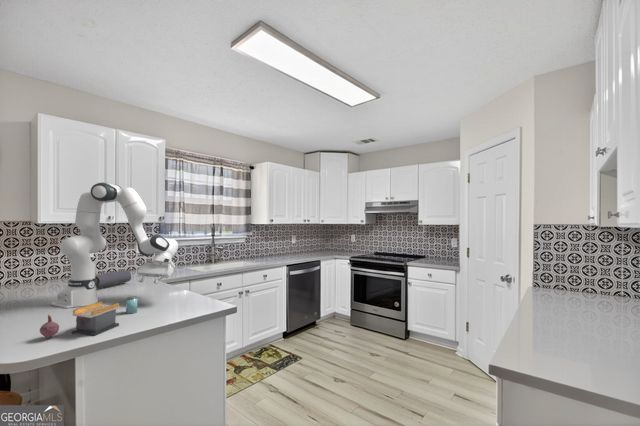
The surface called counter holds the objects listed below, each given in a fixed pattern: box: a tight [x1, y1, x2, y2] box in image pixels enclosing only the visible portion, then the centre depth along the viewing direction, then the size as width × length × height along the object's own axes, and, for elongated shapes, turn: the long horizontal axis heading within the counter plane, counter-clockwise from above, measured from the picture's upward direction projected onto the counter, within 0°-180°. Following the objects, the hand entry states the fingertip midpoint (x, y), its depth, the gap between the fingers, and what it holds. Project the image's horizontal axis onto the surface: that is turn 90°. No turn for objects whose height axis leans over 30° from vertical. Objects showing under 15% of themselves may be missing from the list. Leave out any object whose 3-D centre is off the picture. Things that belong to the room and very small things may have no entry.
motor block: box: [71, 300, 120, 337], centre depth 134 cm, size 14×14×10 cm
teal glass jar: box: [125, 295, 139, 315], centre depth 157 cm, size 5×5×8 cm
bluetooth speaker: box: [95, 270, 132, 289], centre depth 209 cm, size 23×9×10 cm, turn 160°
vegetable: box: [39, 314, 60, 339], centre depth 123 cm, size 6×6×10 cm
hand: (147, 282), depth 168 cm, fingers open, 8 cm apart
